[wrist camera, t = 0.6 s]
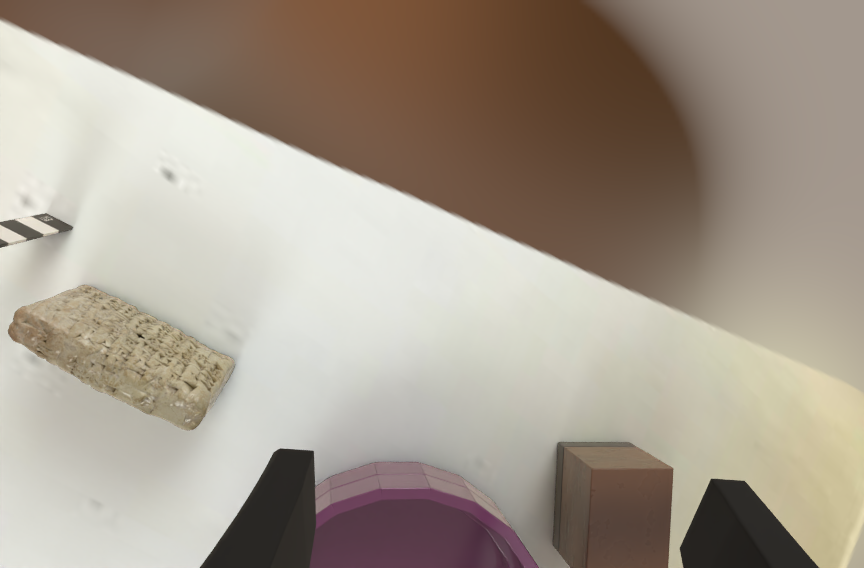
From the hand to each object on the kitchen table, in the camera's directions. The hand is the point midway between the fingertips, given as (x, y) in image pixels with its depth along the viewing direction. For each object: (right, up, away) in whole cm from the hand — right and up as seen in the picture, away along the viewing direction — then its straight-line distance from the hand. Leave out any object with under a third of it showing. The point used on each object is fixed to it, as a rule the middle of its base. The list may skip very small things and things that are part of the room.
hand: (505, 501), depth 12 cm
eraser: (+8, -8, +26) cm, 29 cm away
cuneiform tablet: (-17, +2, +22) cm, 28 cm away
